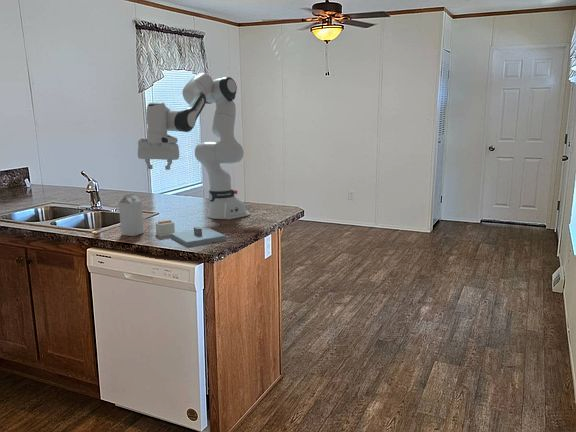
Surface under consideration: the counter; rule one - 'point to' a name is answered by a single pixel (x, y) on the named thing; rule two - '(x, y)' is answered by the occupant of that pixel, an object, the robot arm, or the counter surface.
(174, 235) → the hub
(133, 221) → the milk carton
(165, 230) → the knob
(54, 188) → the counter surface
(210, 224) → the counter surface
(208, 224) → the counter surface
